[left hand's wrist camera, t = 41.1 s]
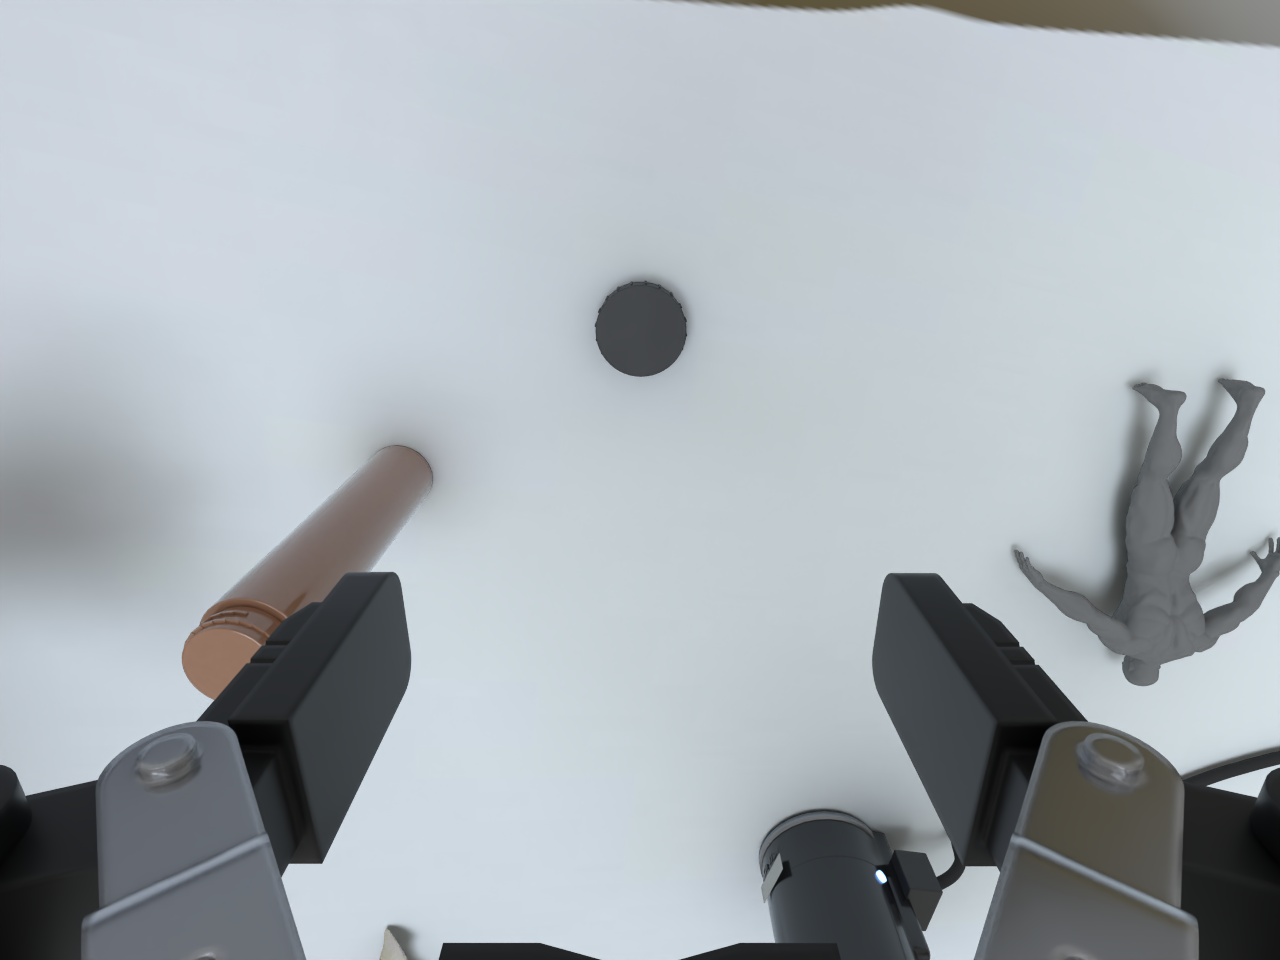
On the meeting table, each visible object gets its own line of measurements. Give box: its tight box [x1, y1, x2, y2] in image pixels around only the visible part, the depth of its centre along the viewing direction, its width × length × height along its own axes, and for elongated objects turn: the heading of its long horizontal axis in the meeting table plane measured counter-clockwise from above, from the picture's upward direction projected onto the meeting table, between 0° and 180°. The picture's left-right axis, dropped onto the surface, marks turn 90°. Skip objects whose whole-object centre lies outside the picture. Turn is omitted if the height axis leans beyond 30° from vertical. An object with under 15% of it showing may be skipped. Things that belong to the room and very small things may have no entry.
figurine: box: [1014, 379, 1280, 686], centre depth 42 cm, size 17×4×20 cm
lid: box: [595, 281, 687, 377], centre depth 39 cm, size 5×5×2 cm
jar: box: [182, 446, 433, 700], centre depth 34 cm, size 4×4×19 cm
